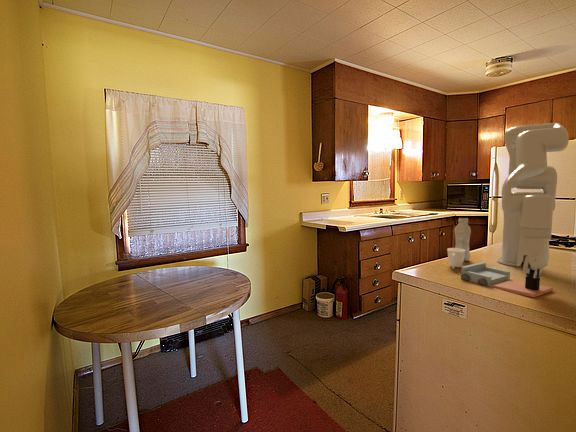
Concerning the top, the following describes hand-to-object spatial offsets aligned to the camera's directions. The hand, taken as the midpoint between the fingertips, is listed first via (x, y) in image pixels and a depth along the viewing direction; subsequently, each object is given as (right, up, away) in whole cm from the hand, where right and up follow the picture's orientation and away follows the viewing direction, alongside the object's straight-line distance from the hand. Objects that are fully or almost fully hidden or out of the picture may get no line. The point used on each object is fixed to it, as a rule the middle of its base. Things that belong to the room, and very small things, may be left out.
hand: (532, 288), depth 97 cm
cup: (-9, +1, +29) cm, 31 cm away
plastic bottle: (+1, +3, +41) cm, 41 cm away
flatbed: (-6, 0, +14) cm, 15 cm away
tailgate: (-1, -1, +3) cm, 3 cm away
